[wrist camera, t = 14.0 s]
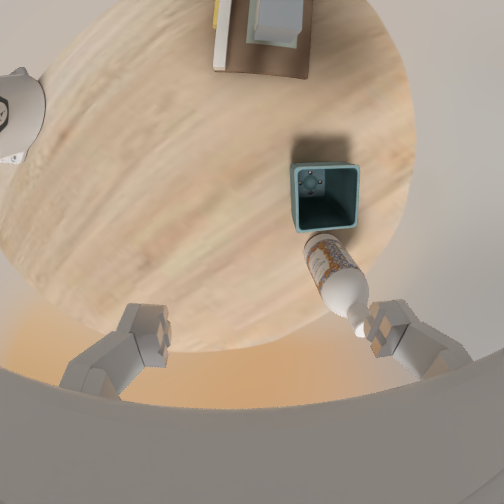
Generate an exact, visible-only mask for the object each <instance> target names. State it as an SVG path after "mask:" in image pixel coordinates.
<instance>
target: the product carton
mask: <svg viewBox="0 0 504 504" xmlns="http://www.w3.org/2000/svg"><path fill="white" fill-rule="evenodd" d="M302 18H303V0H257V1H256V12H255V23H254V31H255V32H254V40H263V41H272V42H281V43H288V44H290V43H291V42H292V41H293V40H294V39H295V37H296V36H297V35H298V34H299V33H300V32H301V31H302Z"/></svg>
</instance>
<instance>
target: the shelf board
mask: <svg viewBox="0 0 504 504" xmlns="http://www.w3.org/2000/svg"><path fill="white" fill-rule="evenodd" d="M256 1H257V0H232V5H231V15H230V24H229V34H228V45H227V56H226V69H225V71H224V70H214V71H215V72H236V73H253V74H265V75H275V76H283V77H291V78H298V79H308V70H309V56H310V41H311V23H312V1H313V0H303V18H302V31H301V32H300V33H299V34H298V35H297V36H296V37H295V39H294V40H293V41H292V42H291V43H290V44H288V43H281V42H272V41H263V40H254V32H255V31H254V23H255V12H256Z"/></svg>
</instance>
